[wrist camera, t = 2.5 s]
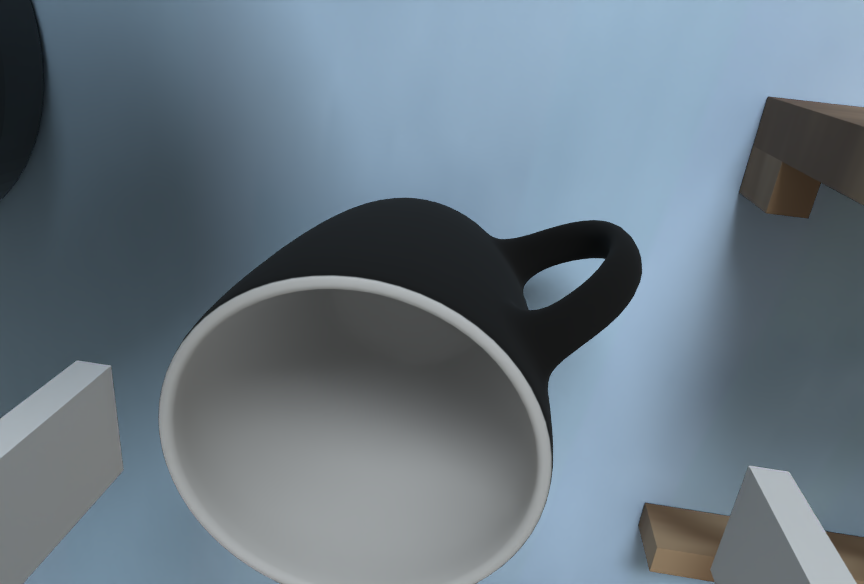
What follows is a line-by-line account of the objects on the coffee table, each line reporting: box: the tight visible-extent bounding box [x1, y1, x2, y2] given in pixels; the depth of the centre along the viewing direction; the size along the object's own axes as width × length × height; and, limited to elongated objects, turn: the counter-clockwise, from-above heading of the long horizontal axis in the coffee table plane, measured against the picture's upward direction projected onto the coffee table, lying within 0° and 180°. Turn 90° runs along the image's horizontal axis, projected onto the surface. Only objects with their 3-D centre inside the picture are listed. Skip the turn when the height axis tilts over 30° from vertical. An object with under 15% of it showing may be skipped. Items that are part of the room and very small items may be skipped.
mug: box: [158, 198, 642, 584], centre depth 18 cm, size 12×9×10 cm
